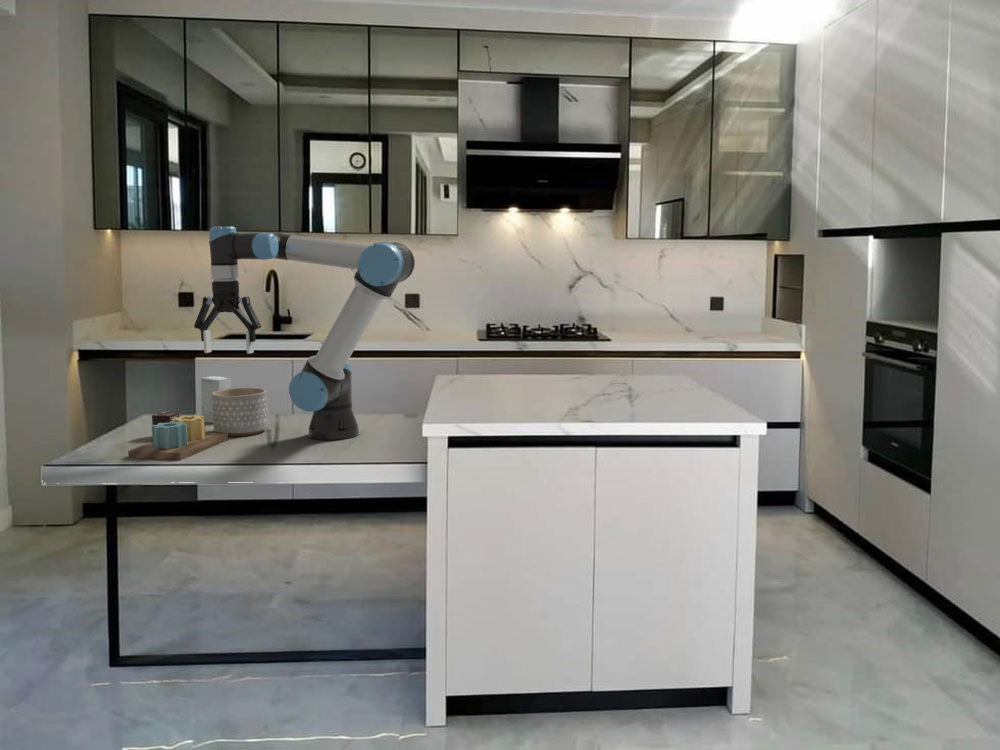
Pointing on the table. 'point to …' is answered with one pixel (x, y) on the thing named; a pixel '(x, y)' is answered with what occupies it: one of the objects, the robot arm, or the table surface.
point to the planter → (240, 411)
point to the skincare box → (207, 389)
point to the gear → (169, 435)
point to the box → (163, 417)
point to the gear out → (193, 426)
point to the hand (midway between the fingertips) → (229, 352)
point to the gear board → (178, 453)
